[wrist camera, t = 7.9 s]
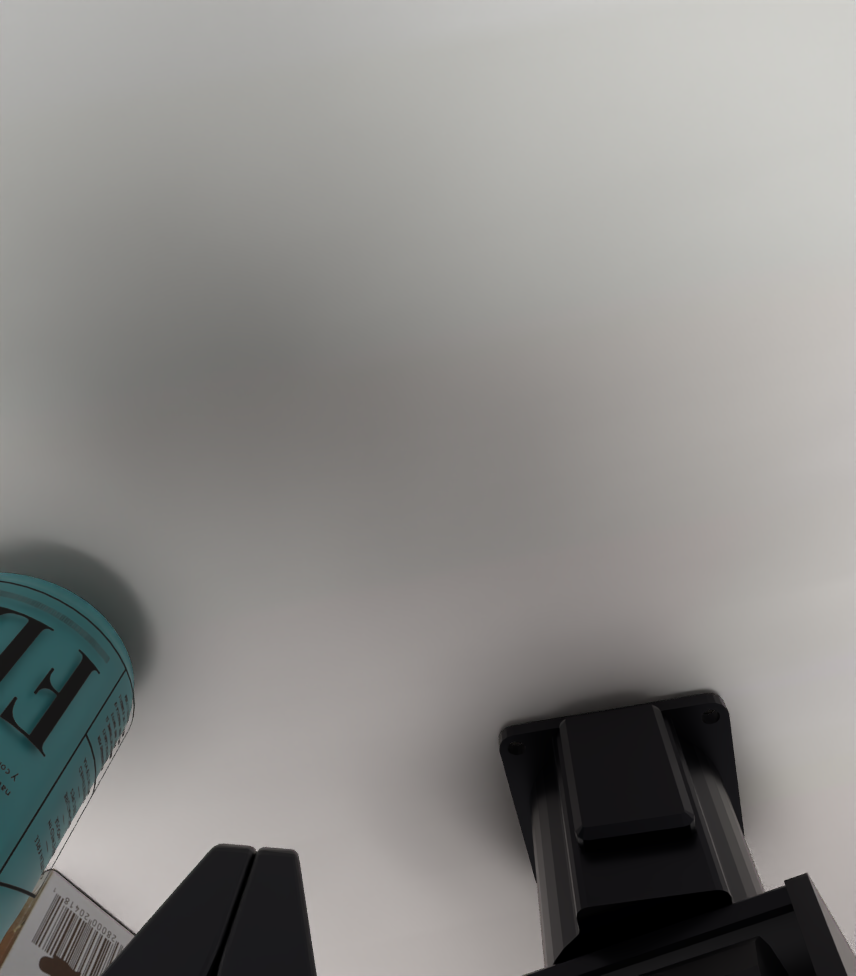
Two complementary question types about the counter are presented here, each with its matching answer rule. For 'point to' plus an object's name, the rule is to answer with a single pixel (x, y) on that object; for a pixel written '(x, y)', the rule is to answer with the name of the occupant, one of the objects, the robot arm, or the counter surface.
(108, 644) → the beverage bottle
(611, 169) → the counter surface
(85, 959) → the coffee box
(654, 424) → the counter surface
